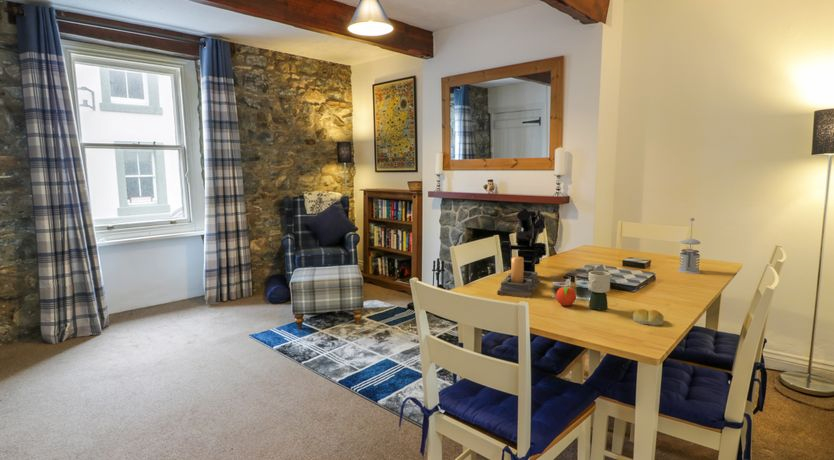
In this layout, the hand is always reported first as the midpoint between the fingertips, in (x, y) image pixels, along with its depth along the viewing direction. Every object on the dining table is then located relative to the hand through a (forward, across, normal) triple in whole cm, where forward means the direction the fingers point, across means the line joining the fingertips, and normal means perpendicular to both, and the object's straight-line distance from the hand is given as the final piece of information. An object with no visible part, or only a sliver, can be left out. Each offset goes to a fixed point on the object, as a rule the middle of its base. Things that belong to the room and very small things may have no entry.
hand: (520, 264), depth 193 cm
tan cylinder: (+11, 0, 0) cm, 11 cm away
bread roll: (+27, +46, -13) cm, 55 cm away
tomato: (+21, +20, -8) cm, 30 cm away
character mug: (+21, +31, -8) cm, 38 cm away
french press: (-30, +68, +44) cm, 86 cm away
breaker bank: (+8, 0, +6) cm, 10 cm away
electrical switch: (0, +30, +14) cm, 33 cm away
